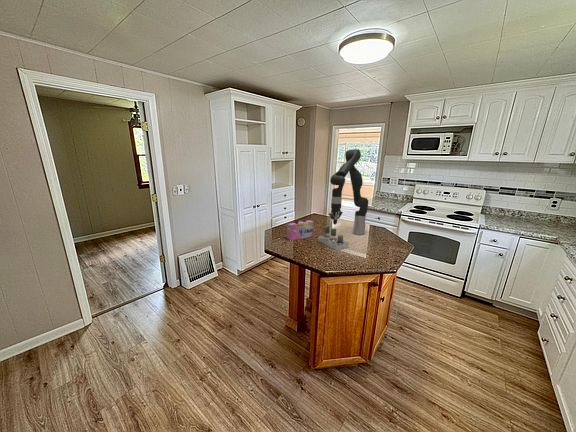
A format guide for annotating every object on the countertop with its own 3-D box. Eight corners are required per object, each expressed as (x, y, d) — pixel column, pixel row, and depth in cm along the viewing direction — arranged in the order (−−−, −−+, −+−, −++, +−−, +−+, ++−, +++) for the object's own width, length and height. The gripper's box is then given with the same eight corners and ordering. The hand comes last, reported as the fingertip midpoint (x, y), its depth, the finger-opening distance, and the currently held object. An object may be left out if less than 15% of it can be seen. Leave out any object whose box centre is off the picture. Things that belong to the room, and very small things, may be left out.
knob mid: (333, 234, 185) (334, 227, 184) (337, 235, 182) (337, 229, 181) (329, 234, 183) (330, 228, 182) (333, 236, 180) (333, 230, 179)
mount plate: (329, 238, 197) (329, 233, 196) (348, 247, 178) (348, 242, 177) (318, 240, 191) (318, 236, 190) (336, 250, 173) (336, 245, 172)
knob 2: (340, 240, 180) (340, 234, 178) (343, 242, 176) (344, 236, 175) (336, 241, 178) (336, 235, 176) (339, 243, 174) (340, 236, 173)
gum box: (309, 233, 208) (310, 219, 205) (314, 236, 202) (315, 221, 198) (286, 237, 197) (286, 222, 194) (290, 240, 191) (291, 224, 187)
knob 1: (327, 231, 192) (327, 225, 191) (330, 232, 189) (330, 226, 187) (323, 231, 190) (323, 225, 189) (326, 233, 187) (326, 227, 185)
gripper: (339, 200, 182) (337, 221, 187) (326, 202, 175) (325, 224, 180) (346, 202, 176) (344, 224, 181) (333, 204, 169) (331, 226, 174)
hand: (334, 224), depth 180 cm, fingers closed
